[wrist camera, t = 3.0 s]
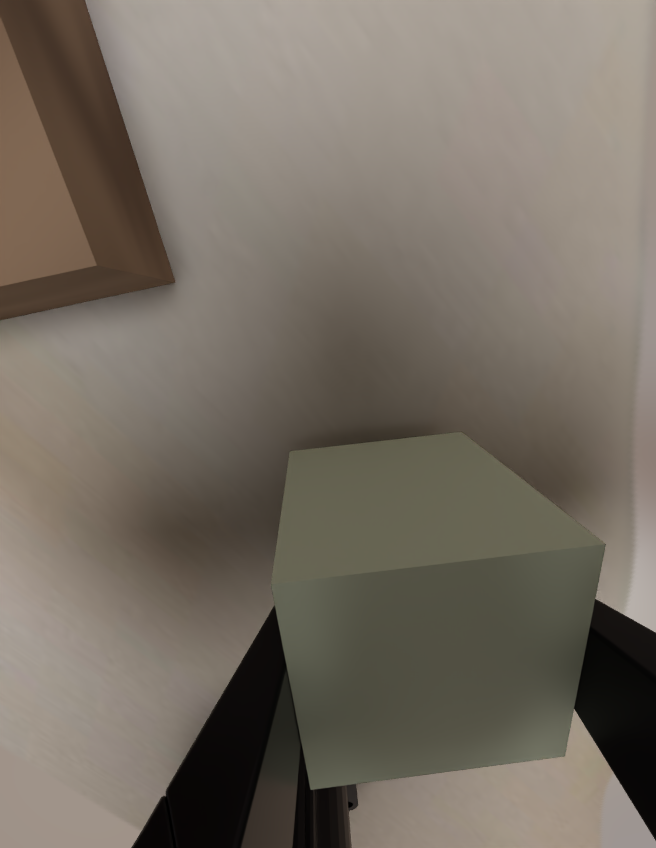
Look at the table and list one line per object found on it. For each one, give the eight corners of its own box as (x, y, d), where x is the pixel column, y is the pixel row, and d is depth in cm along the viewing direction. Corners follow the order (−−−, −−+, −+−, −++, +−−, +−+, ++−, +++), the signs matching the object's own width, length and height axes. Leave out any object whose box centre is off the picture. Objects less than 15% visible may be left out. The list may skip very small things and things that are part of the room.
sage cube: (457, 570, 11) (564, 756, 7) (310, 588, 11) (310, 789, 7) (461, 431, 10) (606, 544, 5) (289, 451, 10) (270, 585, 5)
